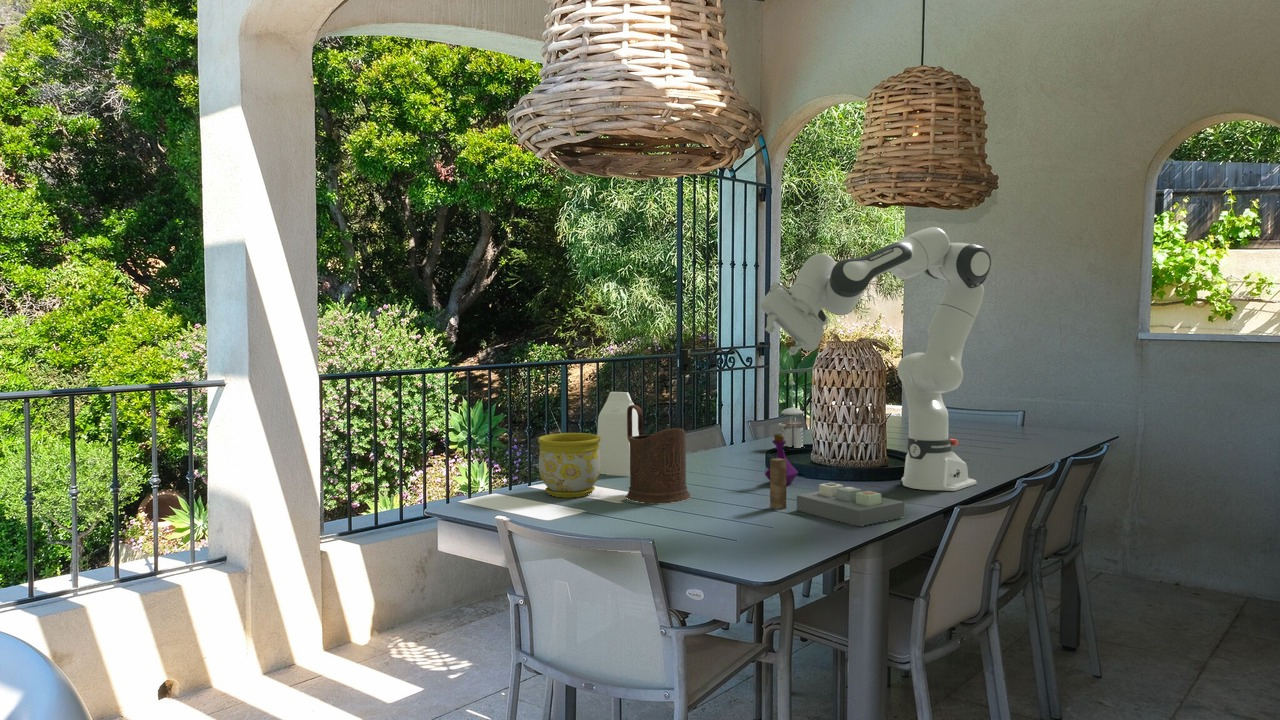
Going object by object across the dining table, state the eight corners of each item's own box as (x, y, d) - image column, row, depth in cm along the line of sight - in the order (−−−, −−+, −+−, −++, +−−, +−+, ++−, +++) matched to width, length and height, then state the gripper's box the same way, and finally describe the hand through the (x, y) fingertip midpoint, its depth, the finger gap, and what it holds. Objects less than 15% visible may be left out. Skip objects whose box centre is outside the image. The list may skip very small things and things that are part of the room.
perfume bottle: (786, 487, 271) (786, 426, 270) (764, 484, 275) (764, 424, 274) (798, 483, 277) (798, 423, 276) (776, 480, 281) (776, 421, 280)
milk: (644, 470, 301) (643, 391, 299) (630, 476, 290) (629, 394, 288) (610, 467, 305) (609, 390, 303) (595, 474, 295) (594, 393, 293)
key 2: (867, 504, 234) (868, 489, 234) (881, 507, 231) (881, 492, 230) (855, 506, 232) (855, 492, 232) (868, 509, 228) (869, 495, 228)
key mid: (849, 499, 240) (849, 485, 240) (861, 502, 236) (861, 488, 236) (836, 502, 237) (837, 487, 237) (849, 505, 234) (849, 490, 233)
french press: (804, 447, 343) (804, 380, 341) (807, 452, 331) (807, 383, 329) (778, 446, 344) (777, 380, 342) (779, 452, 332) (779, 383, 330)
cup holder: (649, 507, 247) (648, 415, 246) (603, 492, 267) (601, 406, 266) (704, 498, 258) (703, 409, 256) (655, 484, 278) (654, 402, 276)
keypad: (840, 502, 250) (840, 487, 250) (904, 517, 232) (904, 502, 232) (796, 510, 242) (796, 495, 241) (859, 527, 223) (859, 510, 223)
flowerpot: (546, 502, 255) (545, 443, 253) (533, 489, 272) (532, 434, 271) (608, 497, 260) (608, 439, 259) (592, 485, 277) (591, 431, 276)
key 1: (831, 495, 245) (831, 481, 245) (843, 498, 242) (843, 484, 241) (819, 497, 243) (819, 483, 243) (831, 500, 239) (831, 486, 239)
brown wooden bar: (778, 506, 247) (778, 458, 246) (786, 508, 244) (786, 459, 243) (770, 507, 245) (770, 459, 244) (777, 509, 243) (777, 460, 242)
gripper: (783, 276, 244) (761, 316, 238) (832, 324, 251) (812, 364, 246) (768, 280, 249) (746, 319, 244) (816, 327, 256) (796, 366, 251)
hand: (780, 342), depth 245 cm, fingers open, 8 cm apart
